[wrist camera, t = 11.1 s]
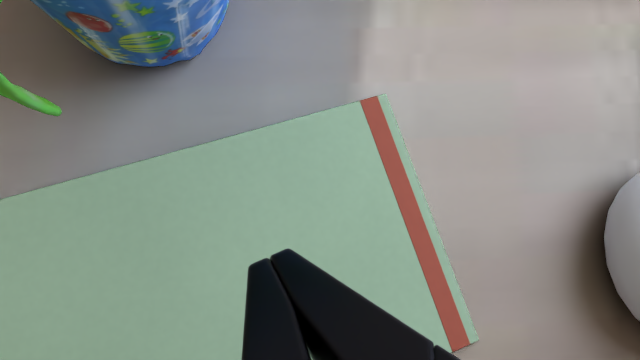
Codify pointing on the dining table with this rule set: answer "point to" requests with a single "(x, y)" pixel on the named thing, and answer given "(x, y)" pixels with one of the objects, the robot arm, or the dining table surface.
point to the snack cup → (129, 34)
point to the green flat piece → (222, 242)
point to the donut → (625, 243)
